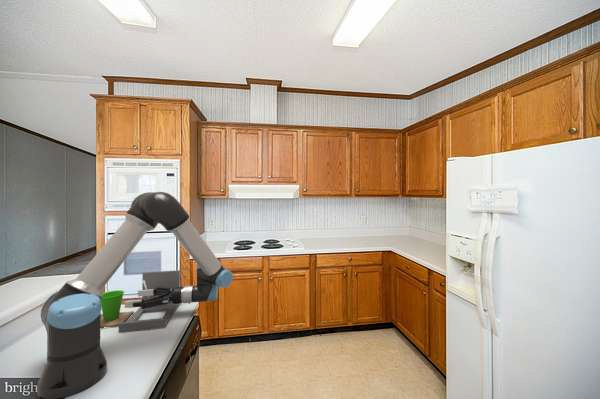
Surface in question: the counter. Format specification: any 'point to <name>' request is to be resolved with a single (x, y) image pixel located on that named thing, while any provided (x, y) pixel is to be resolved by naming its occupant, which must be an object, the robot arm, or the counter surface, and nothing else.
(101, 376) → the robot arm
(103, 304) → the cup
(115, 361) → the counter surface
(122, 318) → the board
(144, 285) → the equipment case
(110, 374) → the counter surface
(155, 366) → the counter surface
